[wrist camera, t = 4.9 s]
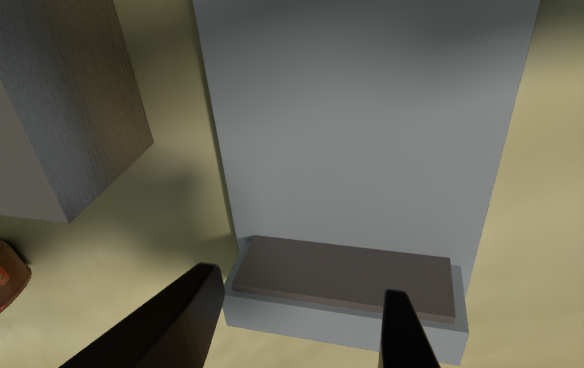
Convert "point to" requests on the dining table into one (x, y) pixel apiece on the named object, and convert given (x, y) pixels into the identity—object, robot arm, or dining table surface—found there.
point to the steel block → (64, 106)
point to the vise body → (360, 155)
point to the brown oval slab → (11, 275)
